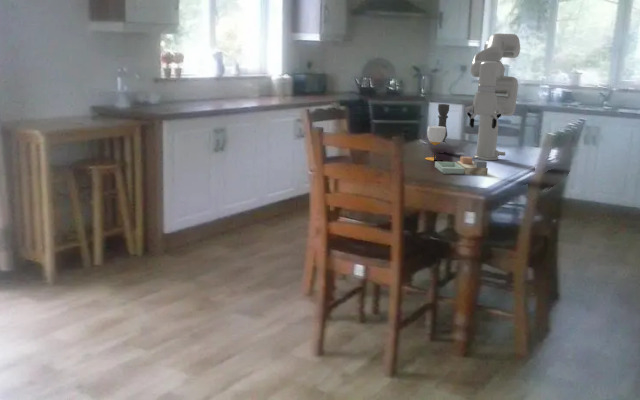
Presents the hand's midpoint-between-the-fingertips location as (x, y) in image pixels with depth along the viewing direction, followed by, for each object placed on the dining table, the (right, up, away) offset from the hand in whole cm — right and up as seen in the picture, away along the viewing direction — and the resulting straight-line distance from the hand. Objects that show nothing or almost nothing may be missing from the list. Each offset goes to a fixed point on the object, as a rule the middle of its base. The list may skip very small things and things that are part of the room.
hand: (482, 127), depth 307 cm
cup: (-18, -13, +25) cm, 34 cm away
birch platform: (-6, -20, -1) cm, 21 cm away
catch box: (-16, -20, -2) cm, 25 cm away
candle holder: (-11, -8, +48) cm, 50 cm away
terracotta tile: (-7, -16, +2) cm, 17 cm away
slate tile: (-3, -18, -6) cm, 19 cm away
